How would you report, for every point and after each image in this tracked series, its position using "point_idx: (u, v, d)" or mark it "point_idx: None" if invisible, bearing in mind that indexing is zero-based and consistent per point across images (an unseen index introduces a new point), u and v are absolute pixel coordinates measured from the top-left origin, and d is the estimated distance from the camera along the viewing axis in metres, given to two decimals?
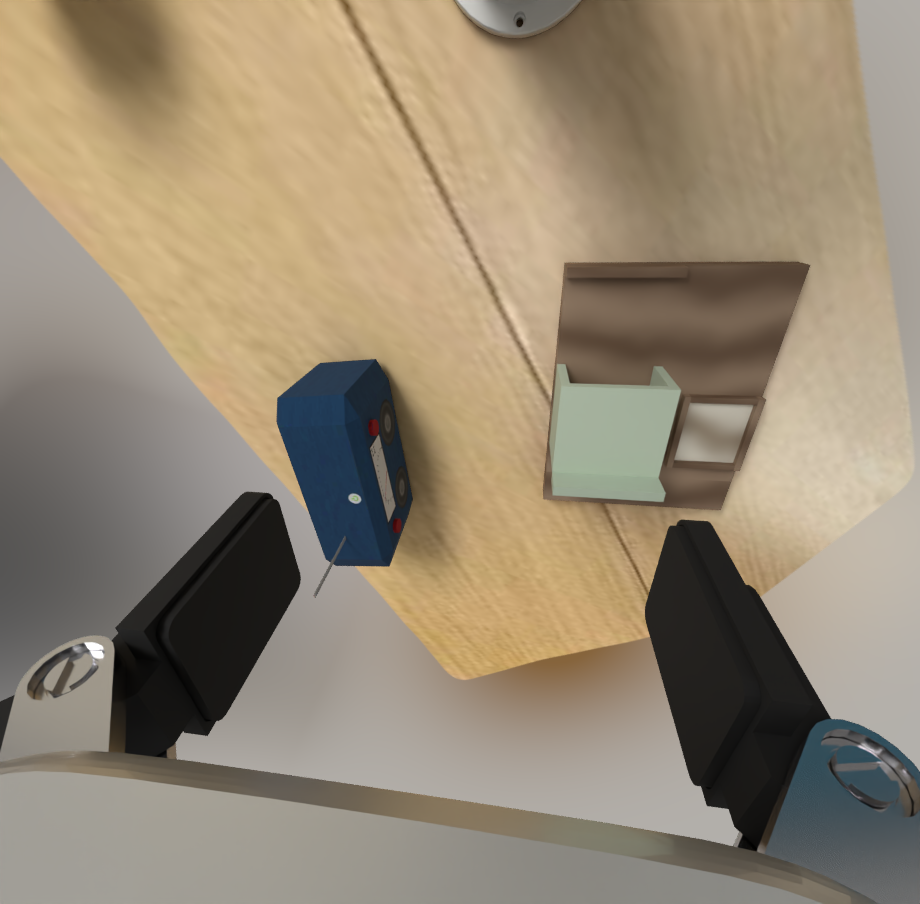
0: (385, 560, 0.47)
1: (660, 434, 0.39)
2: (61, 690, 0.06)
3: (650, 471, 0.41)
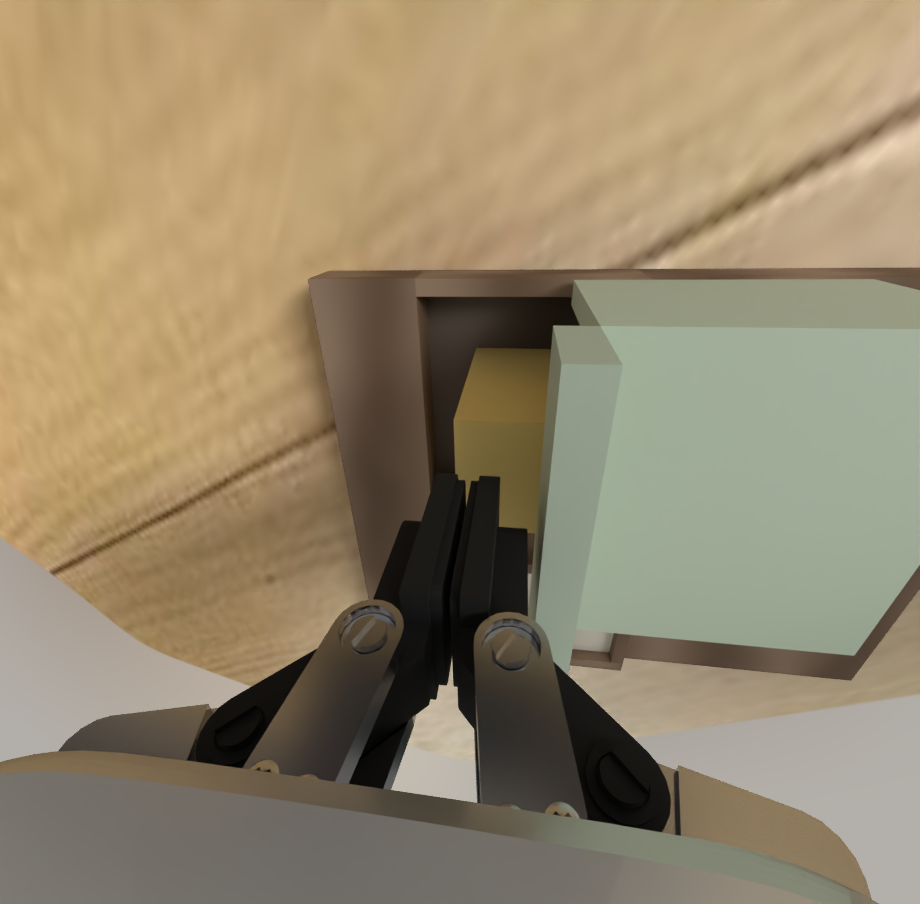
0: None
1: (712, 625, 0.13)
2: (356, 644, 0.07)
3: (580, 612, 0.14)
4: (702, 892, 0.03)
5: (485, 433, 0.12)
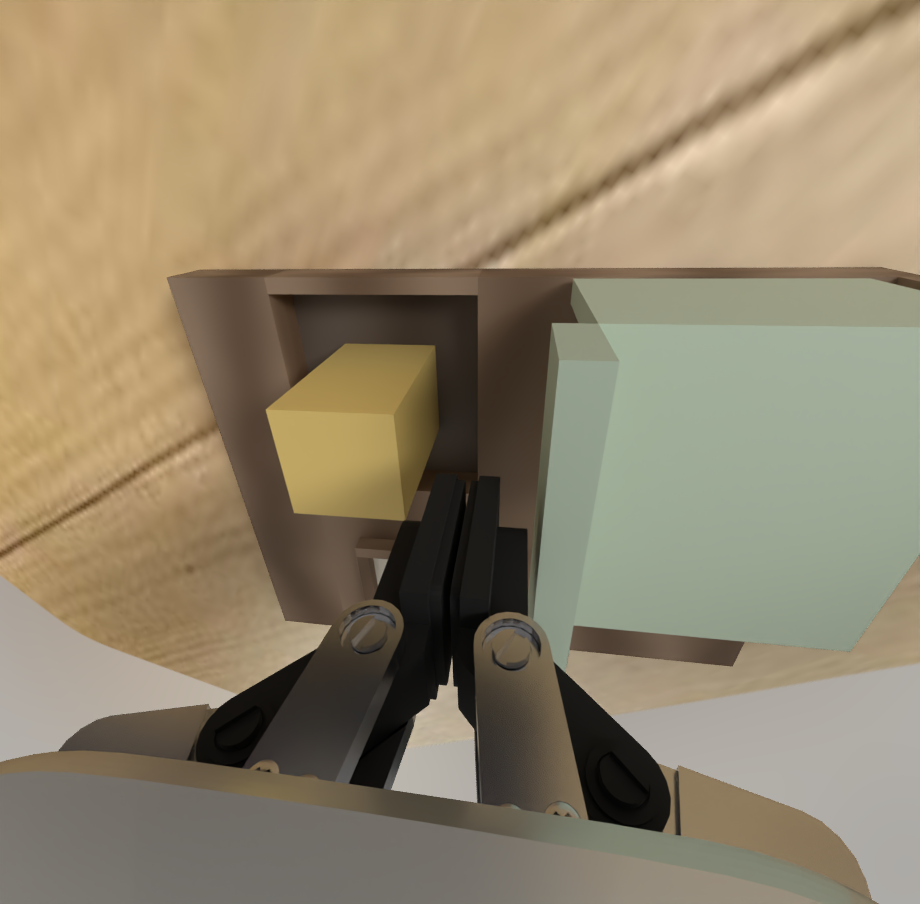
0: None
1: (709, 621, 0.14)
2: (356, 644, 0.07)
3: (578, 608, 0.14)
4: (702, 892, 0.03)
5: (296, 421, 0.13)
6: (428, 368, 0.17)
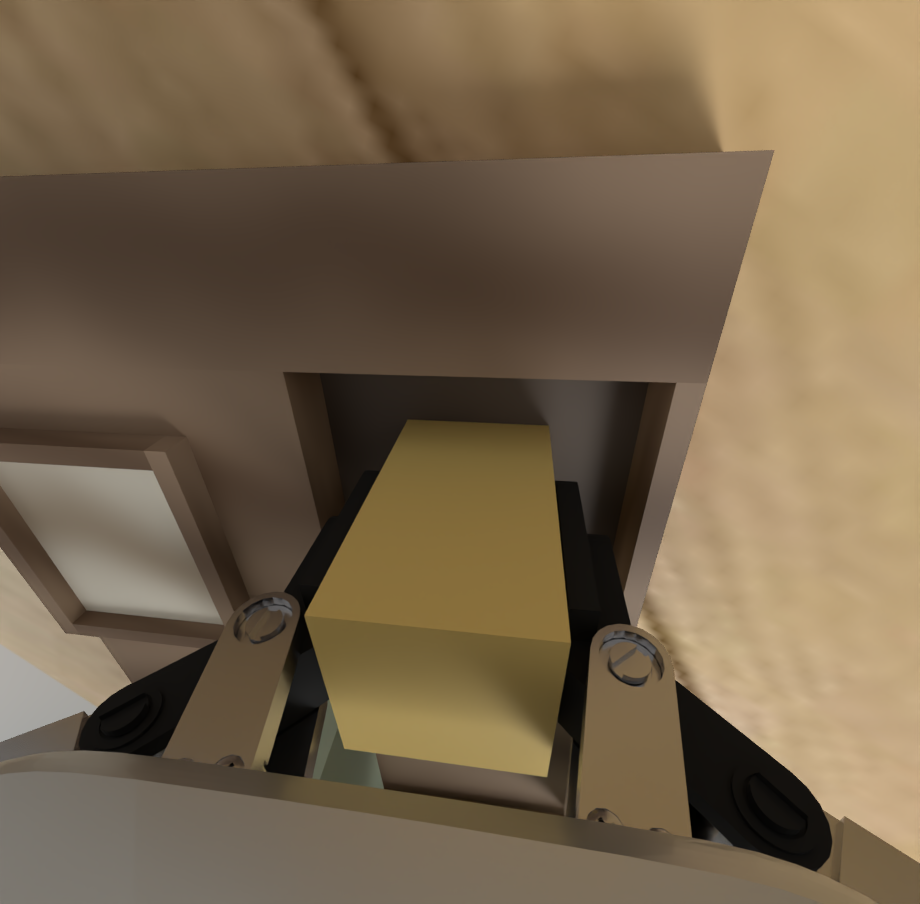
0: None
1: None
2: (254, 637, 0.07)
3: None
4: (702, 891, 0.03)
5: (539, 677, 0.07)
6: None
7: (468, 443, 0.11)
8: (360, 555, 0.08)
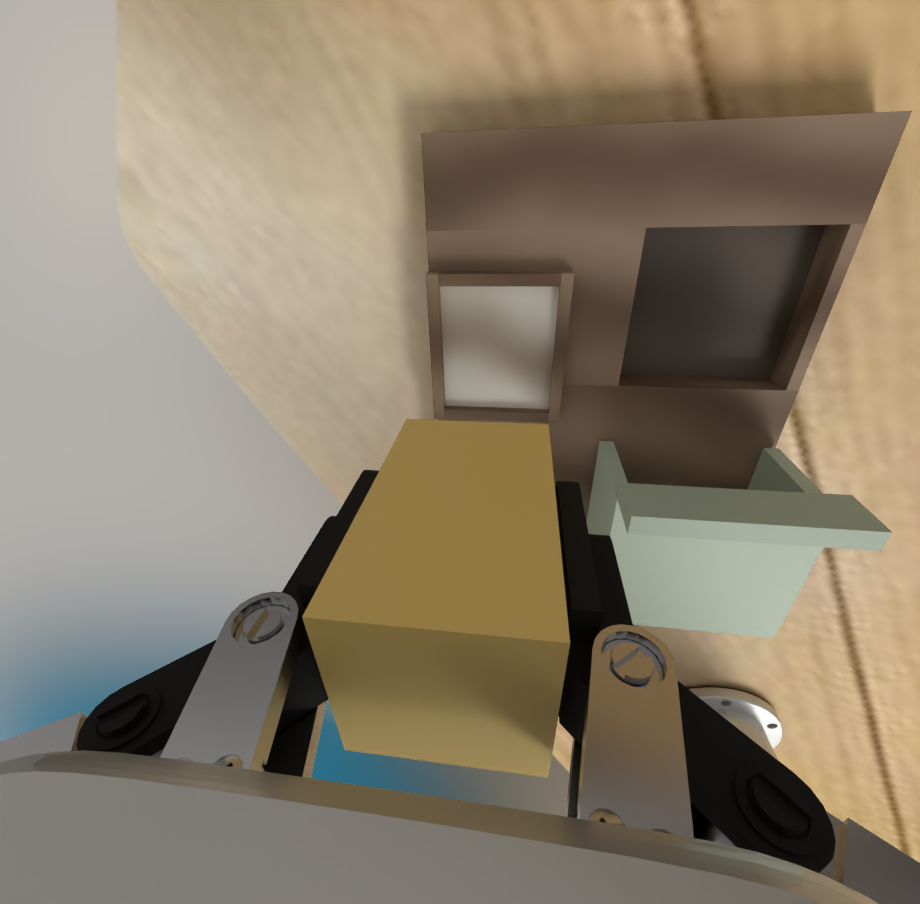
0: None
1: None
2: (252, 637, 0.07)
3: None
4: (702, 892, 0.03)
5: (539, 678, 0.07)
6: None
7: (468, 441, 0.11)
8: (358, 556, 0.08)
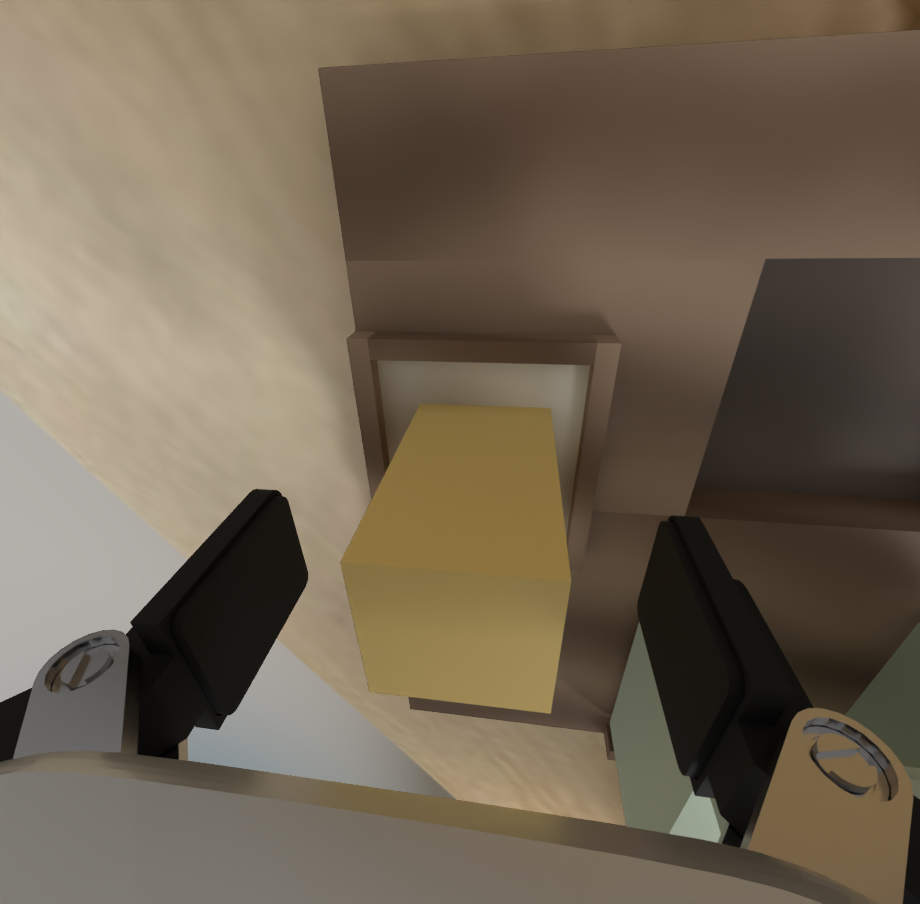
0: None
1: None
2: (77, 683, 0.07)
3: None
4: (702, 892, 0.03)
5: (544, 615, 0.08)
6: None
7: (477, 422, 0.12)
8: (385, 515, 0.09)
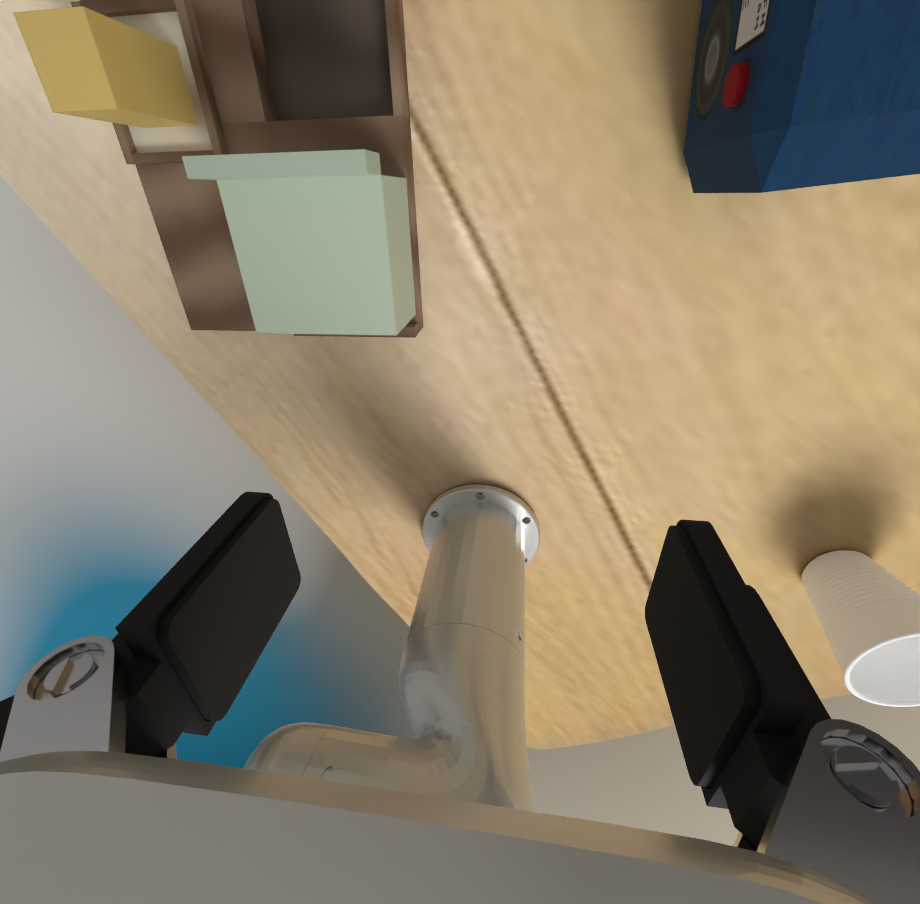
0: None
1: (250, 265, 0.28)
2: (61, 690, 0.06)
3: (233, 192, 0.26)
4: (702, 892, 0.03)
5: (84, 31, 0.22)
6: (175, 122, 0.28)
7: None
8: None
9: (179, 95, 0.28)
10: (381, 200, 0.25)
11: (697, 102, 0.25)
